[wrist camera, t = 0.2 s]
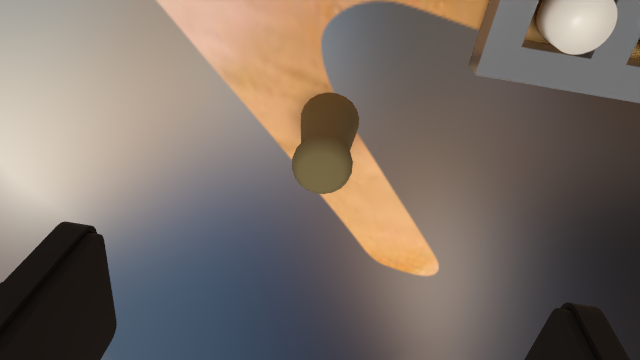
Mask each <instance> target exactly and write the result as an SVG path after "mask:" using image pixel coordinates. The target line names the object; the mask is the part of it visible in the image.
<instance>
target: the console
mask: <svg viewBox="0 0 640 360" xmlns="http://www.w3.org/2000/svg"><path fill="white" fill-rule="evenodd" d="M538 2H539V0H489V4H488V7H487V10H486V13H485V16H484V19H483V22H482V25H481V28H480V31H479V35H478V38H477V41H476V44H475V47H474V50H473V53H472V56H471V59H470V63H469V66H470V68H471V69H472V71H473V73H474V74H475V75H477V76H483V77H489V78H495V79H501V80H507V81H513V82H519V83H525V84H530V85H536V86H543V87H548V88H554V89H560V90H566V91H572V92H577V93H584V94H590V95H596V96H601V97H607V98H613V99H619V100H625V101H631V102H637V103H640V60H638V59H632V58H630V56H631V54H632V52H633V50H634V48H635V46H636V44H637V42H638V40H639V38H640V0H614V2H615V4H616V7H617V22H616V25H615V28H614V30H613V31H612V33H611V35H610V36H609V37H608V39H607V40H606V41H605V42H604V43H603V44H601V45H600V46H599V47H597V48H596V49H594V50H592V51H590V52H587V53H584V54H577V55H573V54H567V53H564V52H562V51H560V50H559V49H557V48H556V47H555V46H554V45H549V44H543V43H537V42H531V41H525V40H524V39H525V36H526V33H527V31H528V28H529V25H530V23H531V20H532V17H533V15H534V12H535V10H536V7H537V4H538Z"/></svg>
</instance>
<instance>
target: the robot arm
mask: <svg viewBox="0 0 640 360" xmlns="http://www.w3.org/2000/svg"><path fill="white" fill-rule="evenodd" d="M115 330H116V315H115V309H114V302H113V296H112V290H111V283H110V276H109V270H108V263H107V257H106V251H105V244H104V239H103V236H102V235H100V234H97V232H96V229H95V228H94V227H93V226H89V225H83V224H77V223H71V222H62V223H60V224H59V225H58V226H57V227H55V229H54V230H53V231H52V232H51V233H50V234H49V235H48V236H47V237H46V238H45V239H44V240H43V241H42V242H41V243H40V244H39V245H38V246H37V247H36V248H35V250H33V252H32V253H31V254H30V255H29V256H28V257H27V258H26V259H25V260H24V261H23V262H22V263H21V264H20V265H19V266H18V267H17V268H16V269H15V270H14V271H13V272H12V273H11V274H10V275H9V276H8V278H7V279H6V280H5V281H4V282H2V283H0V360H100V359H101V358H102V356H103V354H104V352H105V351H106V349H107V348H108V346H109V344H110V342H111V341H112V338H113V337H114V334H115ZM525 360H630V359H629V358H628V356H627V354H626V352H625V351H624V349H623V347H622V345H621V343H620V342H619V340H618V338H617V336H616V335H615V333H614V331H613V330H612V328H611V326H610V324H609V323H608V321H607V319H606V317H605V316H604V314H603V312H602V311H601V310H600V309H598V308H597V307H592V306H586V305H579V304H574V303H565V304H563V305H562V307H561V308H556V309H554V310H553V312H552V313H551V315H550V317H549V318H548V320H547V322H546V323H545V325H544V327H543V328H542V330H541V332H540V334H539V335H538V337H537V339H536V341H535V342H534V344H533V346H532V347H531V349H530V351H529V353H528V354H527V356H526V358H525Z"/></svg>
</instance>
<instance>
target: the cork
mask: <svg viewBox="0 0 640 360" xmlns="http://www.w3.org/2000/svg"><path fill="white" fill-rule="evenodd" d="M358 125H359V116H358V112H357V110H356V108H355V106H354V105H353V103H352V102H351V101H349V100H348V99H347V98H346V97H344V96H341V95H339V94H336V93H324V94H319V95H317V96H315V97H313V98H312V99H310V100H309V101H308V102H307V104H306V105H305V106H304V108H303V111H302V113H301V144H300V145H299V146H298V147H297V148H296V151H295V153H294V156H293V159H292V169H293V173H294V175H295V178H296V179H297V181H298V182H299V184H300V185H302V186H303V187H304V188H306V189H307V190H309V191H311V192H314V193H319V194H326V193H332V192H334V191H336V190H338V189H340V188H341V187H342V186H344V185H345V184H346V183H347V181H348V179H349V177H350V175H351V173H352V164H353V161H352V157H351V153H350V149H351V146H352V143H353V140H354V138H355V135H356V132H357V129H358Z"/></svg>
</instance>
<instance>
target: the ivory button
mask: <svg viewBox="0 0 640 360" xmlns="http://www.w3.org/2000/svg"><path fill="white" fill-rule="evenodd" d="M616 22H617V7H616V4H615V2H614V0H543V2H542V3H541V5H540V7H539V9H538V12H537V17H536V24H537V28H538V31H539V33H540V34H541V36H542V37H543V38H545V39H546V40H547V41H548V42H550V43H551V44H552V45H554V46H555V47H556V48H557V49H559V50H560V51H562V52H564V53H567V54H573V55H577V54H584V53H587V52H590V51H592V50H594V49H596V48H597V47H599V46H600V45H601V44H603V43H604V42H605V41H606V40H607V39H608V37H609V36H610V35H611V33H612V31H613V30H614V28H615V25H616Z"/></svg>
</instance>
